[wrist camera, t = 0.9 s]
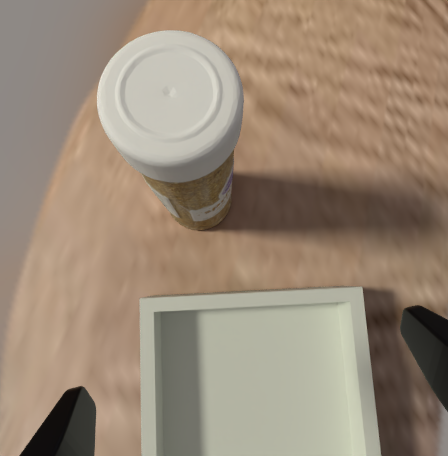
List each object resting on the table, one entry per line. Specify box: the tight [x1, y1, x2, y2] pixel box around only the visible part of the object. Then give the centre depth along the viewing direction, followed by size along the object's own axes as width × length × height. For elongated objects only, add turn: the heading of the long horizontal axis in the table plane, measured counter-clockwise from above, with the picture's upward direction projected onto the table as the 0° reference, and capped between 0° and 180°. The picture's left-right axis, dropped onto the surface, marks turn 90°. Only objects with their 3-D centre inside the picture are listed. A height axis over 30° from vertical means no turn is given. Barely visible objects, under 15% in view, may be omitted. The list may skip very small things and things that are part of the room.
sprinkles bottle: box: [97, 30, 244, 230], centre depth 16 cm, size 5×5×13 cm
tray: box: [140, 286, 381, 456], centre depth 20 cm, size 13×13×3 cm
